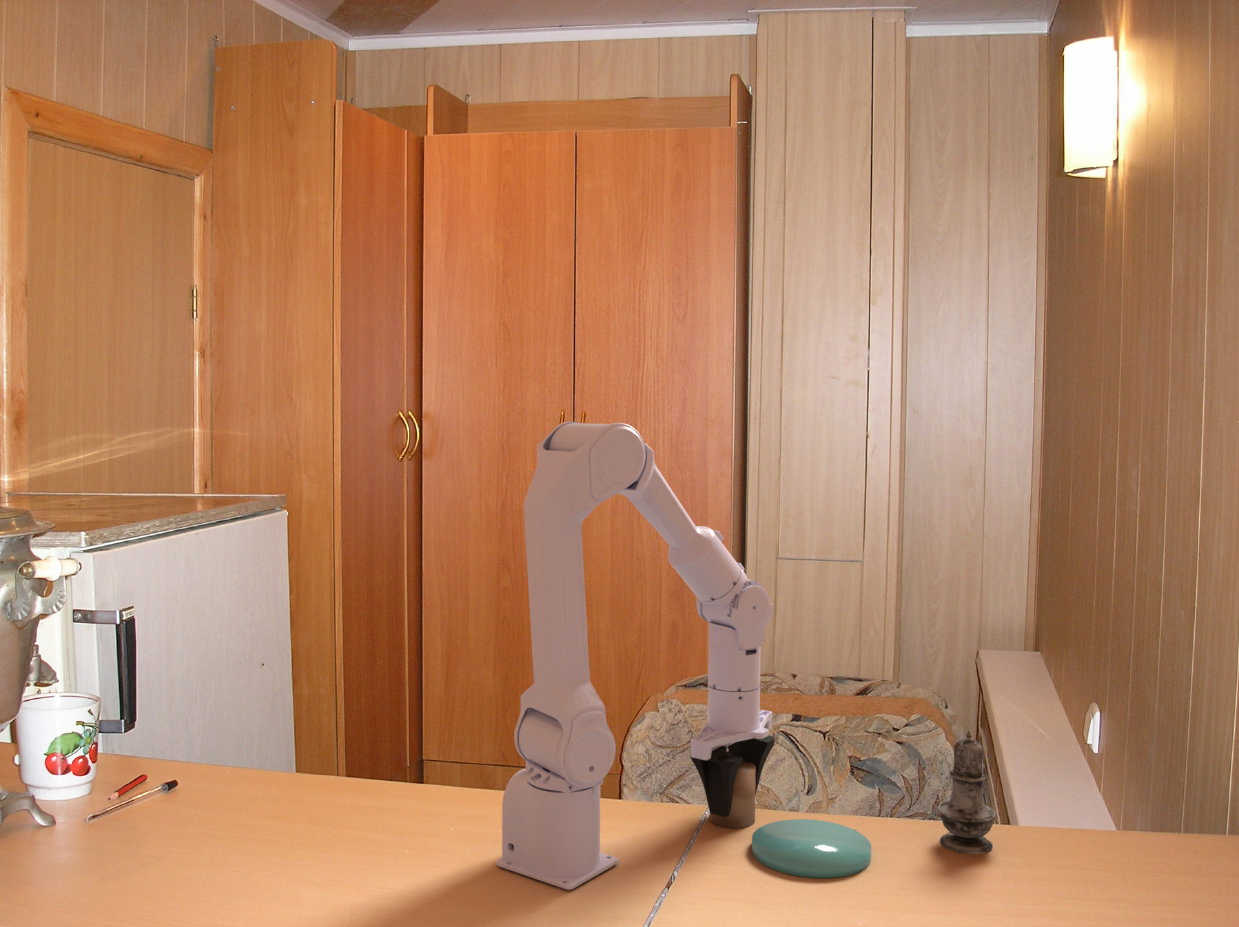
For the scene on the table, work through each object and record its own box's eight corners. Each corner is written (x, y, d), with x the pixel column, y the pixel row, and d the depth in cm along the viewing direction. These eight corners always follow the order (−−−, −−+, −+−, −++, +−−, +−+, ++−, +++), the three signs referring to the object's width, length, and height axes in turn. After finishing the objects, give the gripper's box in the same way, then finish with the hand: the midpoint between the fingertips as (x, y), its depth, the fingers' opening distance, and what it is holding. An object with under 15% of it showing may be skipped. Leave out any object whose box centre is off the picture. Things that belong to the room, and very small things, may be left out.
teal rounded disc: (730, 857, 109) (730, 845, 109) (785, 821, 119) (785, 810, 119) (840, 889, 102) (840, 876, 102) (889, 848, 112) (889, 836, 112)
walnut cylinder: (701, 821, 119) (701, 767, 119) (724, 807, 123) (724, 755, 123) (740, 831, 116) (741, 776, 116) (763, 817, 120) (763, 764, 120)
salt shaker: (999, 857, 110) (1002, 741, 109) (939, 852, 111) (942, 737, 110) (991, 835, 115) (994, 724, 115) (934, 830, 117) (937, 721, 116)
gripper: (732, 705, 110) (730, 836, 111) (796, 677, 122) (795, 795, 123) (674, 694, 115) (673, 820, 115) (742, 668, 126) (740, 782, 127)
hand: (732, 806), depth 119 cm, fingers closed on walnut cylinder, 5 cm apart
